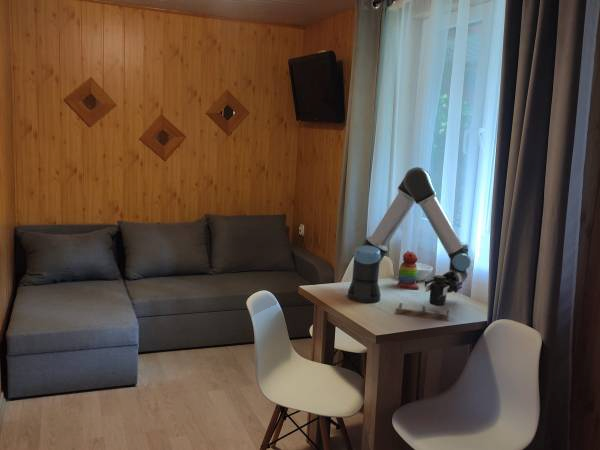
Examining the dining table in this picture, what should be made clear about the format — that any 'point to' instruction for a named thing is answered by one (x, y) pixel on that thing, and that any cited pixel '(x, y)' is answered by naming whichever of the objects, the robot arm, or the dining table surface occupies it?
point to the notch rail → (423, 313)
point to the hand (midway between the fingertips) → (435, 290)
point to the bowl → (423, 271)
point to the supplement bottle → (438, 291)
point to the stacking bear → (408, 272)
